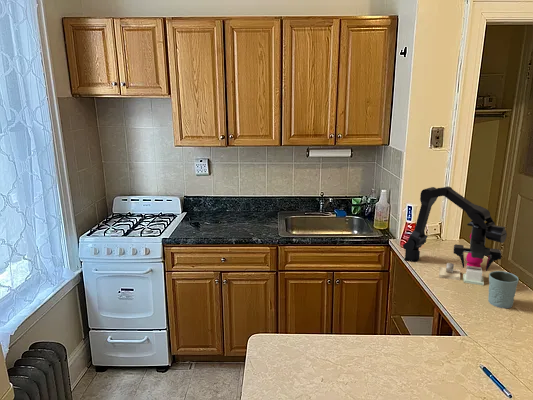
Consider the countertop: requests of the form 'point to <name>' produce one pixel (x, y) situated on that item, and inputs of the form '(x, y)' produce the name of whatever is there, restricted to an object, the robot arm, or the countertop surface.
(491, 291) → the teal plant pot
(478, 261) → the pepper mill
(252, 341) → the countertop surface
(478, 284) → the pad
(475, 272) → the white cabinet cube
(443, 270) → the post base
